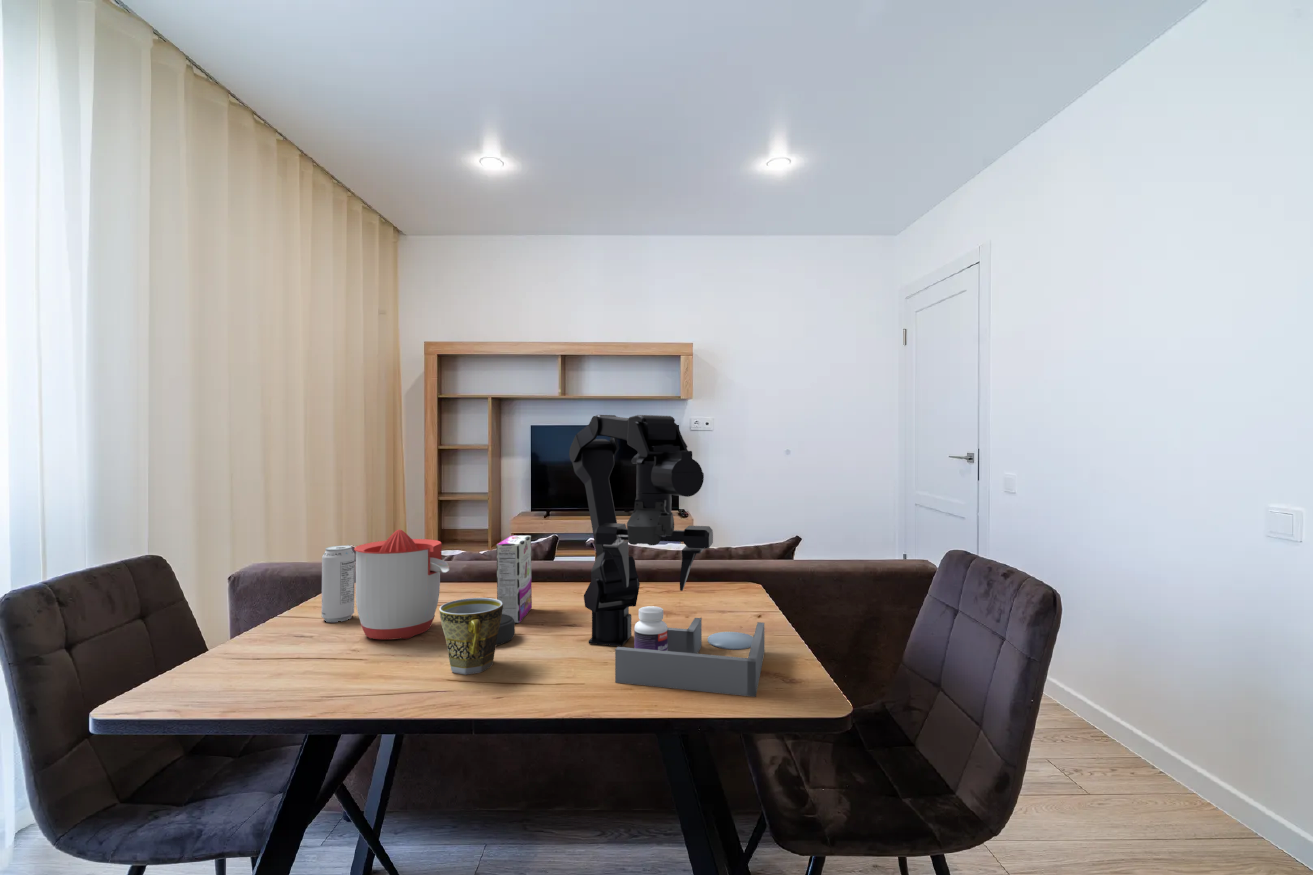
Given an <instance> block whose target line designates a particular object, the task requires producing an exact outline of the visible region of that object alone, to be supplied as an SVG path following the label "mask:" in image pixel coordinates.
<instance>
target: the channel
mask: <svg viewBox="0 0 1313 875" xmlns="http://www.w3.org/2000/svg"><path fill="white" fill-rule="evenodd" d="M702 619H703V618H702V617H694V618H693V620H692V622H691V623H690V624H689V626H688V628H679V627H678V628H677V627H667V629H668V651H661V650H649V649H638V648H634V647H625V646H616V648H615V649H614V660H615V661H614V662H615V663H614V665H615V666H614V675H615V676H614V677H615V680H614V683H618V684H626V685H627V684H629V685H638V686H646V687H647V686H648V687H654V688H655V687H657V688H666V689H674V690H675V689H676V690H686V691H687V690H688V691H695V692H696V691H697V692H707V693H713V694H714V693H715V694H723V695H724V694H725V695H732V696H733V695H734V696H735V695H736V696H743V697H744V696H745V697H753V698H755V697H757V692H758V687H759V682H760V676H761V672H762V667H763V661H764V656H765V651H766V648H765V644H766V642H765V641H766V640H765V622H758V621H757V622H756V627H755V630H754V633H753V641H752V645H751V648H749V649H750V650H749V654H748V657H740V656H739V657H738V656H728V655H718V654H716V655H715V654H705V653H699V652H700V650H701V648H702V641H703V640H702V638H703V637H702V635H703V633H702V631H703V630H702V628H703V627H702Z"/></svg>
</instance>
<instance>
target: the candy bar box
mask: <svg viewBox="0 0 1313 875" xmlns="http://www.w3.org/2000/svg"><path fill="white" fill-rule="evenodd" d="M496 593H497V594H496V599H497V600H500V601H502V602H503V610H502V614H506V615H509V616H511V617H512V618H513V619H514V621H515V624H520V623H521V622H522V621H523V619H524V618H525V617H526V616H527V615H528V613H529V612H530V611H531V609H532V608H533V604H532V603H533V602H532V598H533V597H532V593H533V592H532V535H523V534H521V535H519V534H518V535H516V534H515V535H510V536H508V537H506V538H505V539H503V540H501V541H500V542H499V543H497V544H496Z"/></svg>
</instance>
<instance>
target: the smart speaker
mask: <svg viewBox="0 0 1313 875" xmlns="http://www.w3.org/2000/svg"><path fill="white" fill-rule="evenodd" d="M515 624H516V623H515V621H514V619H513V618H512V617H511V616H509V615H506V614H502V617H501V623H500V627H499V631H498V636H497V642H496V646H499V645H503V644H506V643H508V642H510V641H511V640H512V639H514V637H515V634H516V632H515V631H516V627H515Z"/></svg>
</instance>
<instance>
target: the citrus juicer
mask: <svg viewBox="0 0 1313 875" xmlns="http://www.w3.org/2000/svg"><path fill="white" fill-rule="evenodd" d="M442 546H443V544H442V542H441V541H439V540H436V539H430V538H429V539H428V538H427V539H426V538H411V536H410V535H408V534H407V533H406V532H405V531H404V530H402V529H401V528H399V529H397V530H395V531H394V532H393V533H392V534H390V536H388V538H387V539H386V540H380V541H379V540H378V541H372V542H368V543H363V544H359V545H357V546H355V547H353V549H354V551H355V604H356V611H357V614H358V619H359V622H360V626H361V628H362V630H363V633H364V635H365V636H366V637H367V638H368V639H371V638H373V639H372V640H374V639H375V640H396V639H397V640H398V639H404V640H406V639H407V640H409V639H411V638H413V637H414V636H417V635H420V634H423V633H425V632H427V631H428V630H429V629H430V628H431V626H432V624H433V622H434V619H435V617H436V616H435V614H436V610H437V607H438V605H439V604H438V603H439V598H440V591H441V590H440V588H441V587H440V586H441V574H446V573H448V572H449V571H450V566H449V563H448V562H447V561H445V560H442V559H443V558H442V552H443V550H442V549H443V548H442Z"/></svg>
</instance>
